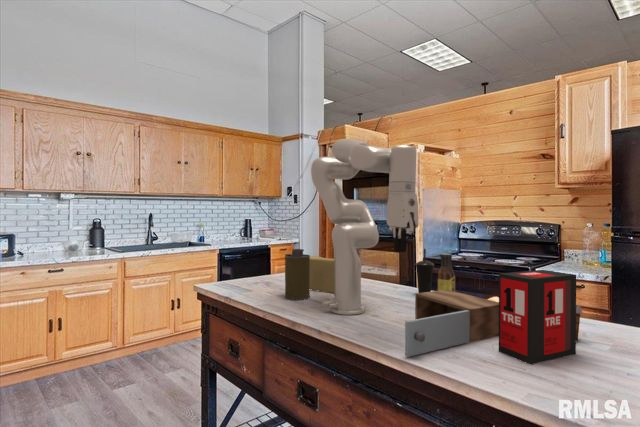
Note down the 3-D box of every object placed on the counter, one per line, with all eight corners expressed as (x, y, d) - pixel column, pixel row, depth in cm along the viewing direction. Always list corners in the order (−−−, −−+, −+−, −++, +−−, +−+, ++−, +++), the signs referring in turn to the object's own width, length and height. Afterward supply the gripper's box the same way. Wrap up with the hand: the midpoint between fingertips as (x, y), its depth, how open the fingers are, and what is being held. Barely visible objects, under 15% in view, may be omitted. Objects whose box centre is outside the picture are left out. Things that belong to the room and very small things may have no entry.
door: (474, 343, 100) (474, 312, 100) (412, 359, 90) (412, 324, 89) (466, 340, 103) (466, 310, 102) (405, 355, 92) (405, 321, 92)
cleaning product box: (542, 342, 102) (542, 269, 102) (575, 354, 94) (576, 274, 94) (498, 351, 96) (499, 273, 96) (530, 364, 88) (530, 279, 88)
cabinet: (470, 342, 102) (470, 309, 102) (415, 321, 122) (415, 293, 122) (504, 334, 109) (504, 303, 109) (446, 315, 128) (446, 289, 128)
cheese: (352, 293, 164) (352, 259, 164) (338, 296, 157) (338, 261, 157) (315, 286, 179) (315, 254, 179) (301, 289, 172) (301, 256, 172)
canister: (314, 296, 157) (314, 248, 157) (300, 301, 148) (300, 251, 148) (293, 293, 162) (294, 247, 162) (278, 298, 154) (278, 249, 154)
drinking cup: (434, 294, 162) (434, 248, 162) (433, 298, 154) (433, 249, 154) (416, 293, 164) (416, 247, 164) (414, 296, 157) (414, 249, 157)
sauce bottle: (456, 309, 137) (456, 255, 137) (438, 308, 138) (438, 254, 138) (453, 305, 143) (454, 253, 143) (436, 304, 144) (436, 252, 144)
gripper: (429, 188, 103) (427, 254, 104) (397, 189, 117) (396, 248, 118) (406, 187, 100) (404, 256, 101) (377, 188, 114) (375, 248, 115)
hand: (400, 251), depth 109 cm, fingers closed
